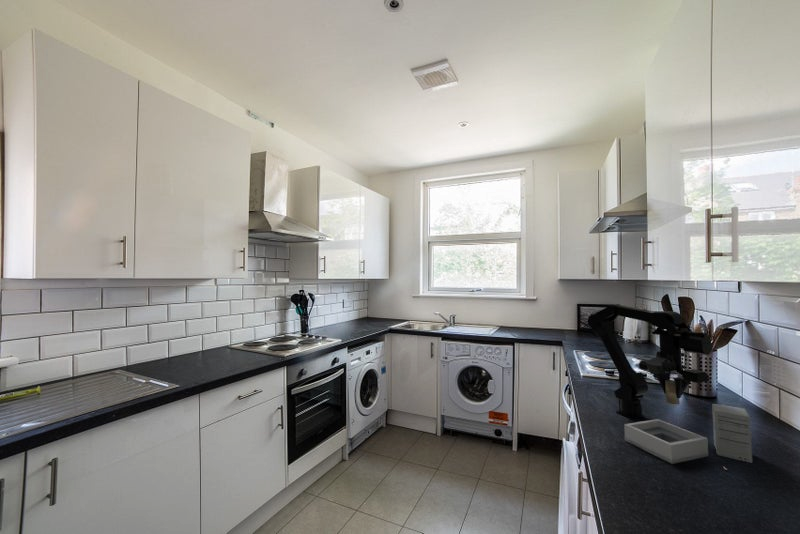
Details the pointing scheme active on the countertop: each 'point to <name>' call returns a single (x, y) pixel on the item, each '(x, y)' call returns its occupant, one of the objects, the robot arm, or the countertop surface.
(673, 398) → the wooden peg
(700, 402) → the countertop surface
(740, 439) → the supplement box
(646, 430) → the grey box
